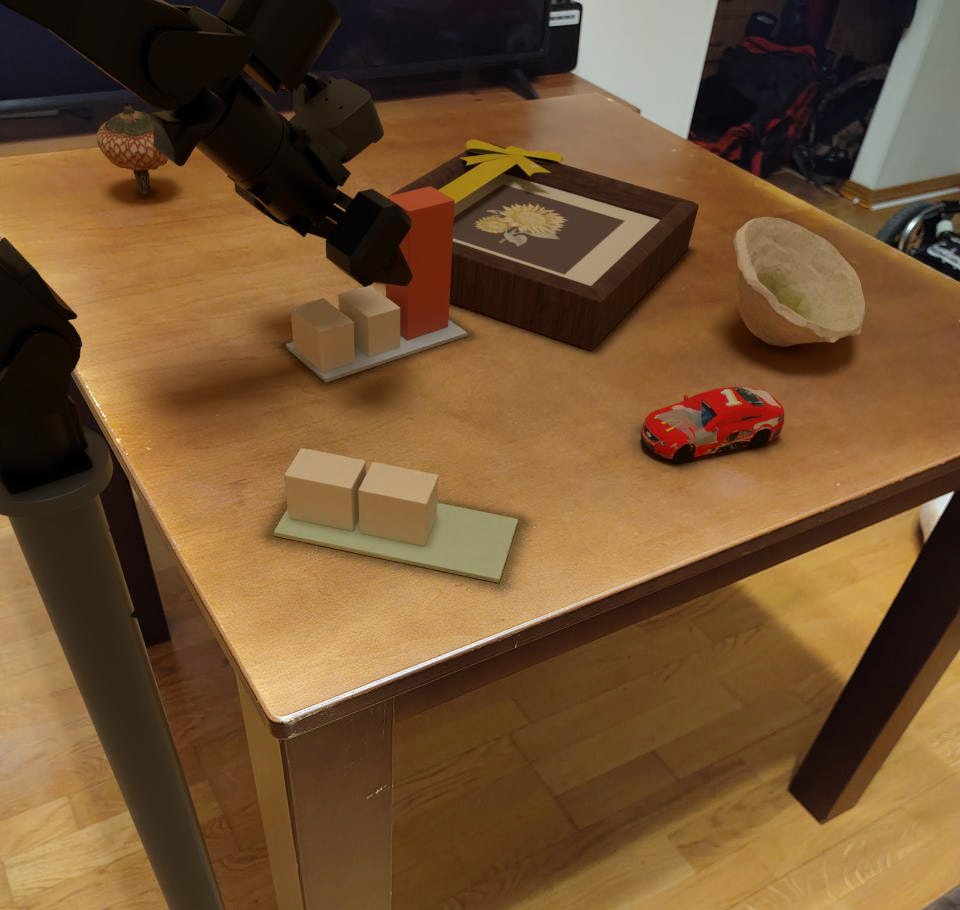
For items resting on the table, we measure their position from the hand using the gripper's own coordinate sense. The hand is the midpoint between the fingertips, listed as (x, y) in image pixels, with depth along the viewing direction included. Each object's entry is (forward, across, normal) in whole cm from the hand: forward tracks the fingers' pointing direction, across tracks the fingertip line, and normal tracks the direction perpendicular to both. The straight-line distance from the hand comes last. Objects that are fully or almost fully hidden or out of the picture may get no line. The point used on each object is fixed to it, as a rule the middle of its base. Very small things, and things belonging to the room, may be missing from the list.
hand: (378, 260), depth 79 cm
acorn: (+3, +42, +8) cm, 43 cm away
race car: (+16, -28, -5) cm, 33 cm away
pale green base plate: (-4, -23, +16) cm, 28 cm away
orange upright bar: (+9, 0, +2) cm, 9 cm away
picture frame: (+23, +6, -12) cm, 27 cm away
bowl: (+30, -21, -19) cm, 42 cm away
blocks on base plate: (+6, 0, +6) cm, 8 cm away
